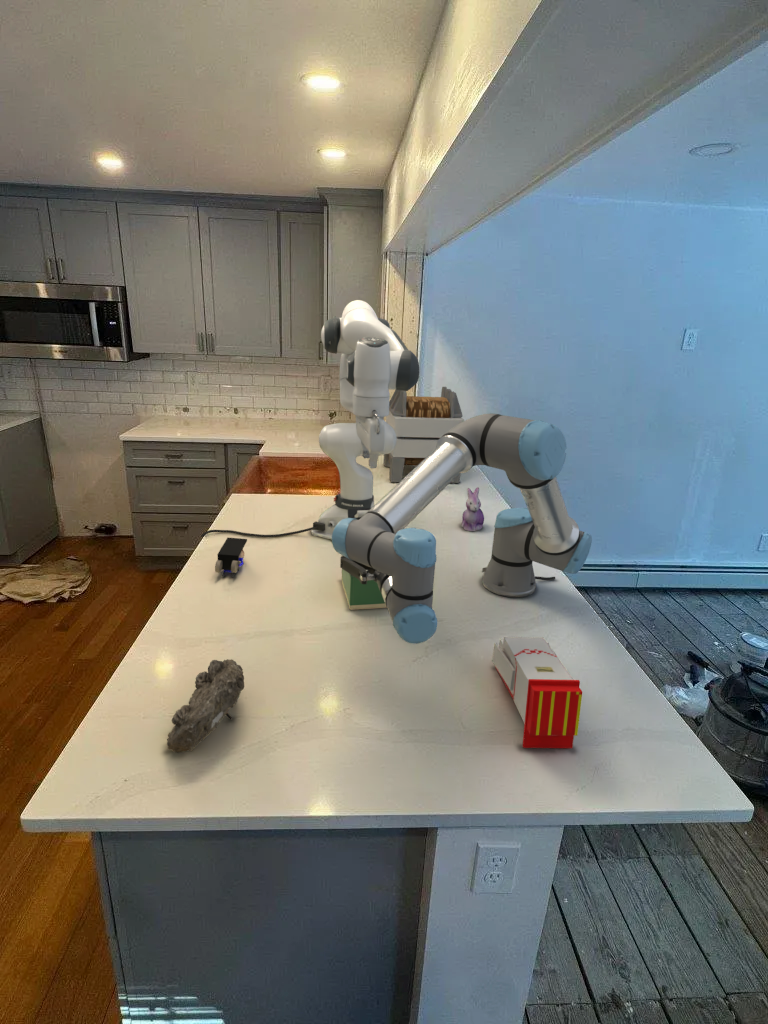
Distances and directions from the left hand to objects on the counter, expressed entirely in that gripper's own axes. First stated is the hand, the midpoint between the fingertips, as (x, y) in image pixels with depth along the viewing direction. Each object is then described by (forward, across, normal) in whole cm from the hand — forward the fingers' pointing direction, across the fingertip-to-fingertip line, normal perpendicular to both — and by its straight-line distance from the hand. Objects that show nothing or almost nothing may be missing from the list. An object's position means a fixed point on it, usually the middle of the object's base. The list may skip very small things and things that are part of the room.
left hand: (369, 462), depth 143 cm
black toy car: (+38, +21, +36) cm, 56 cm away
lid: (+21, -2, 0) cm, 21 cm away
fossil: (+38, -44, +37) cm, 69 cm away
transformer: (+38, +120, -47) cm, 134 cm away
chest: (+38, +2, 0) cm, 38 cm away
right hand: (+16, -17, 0) cm, 23 cm away
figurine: (+38, +48, -48) cm, 78 cm away
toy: (+38, -48, -26) cm, 66 cm away
